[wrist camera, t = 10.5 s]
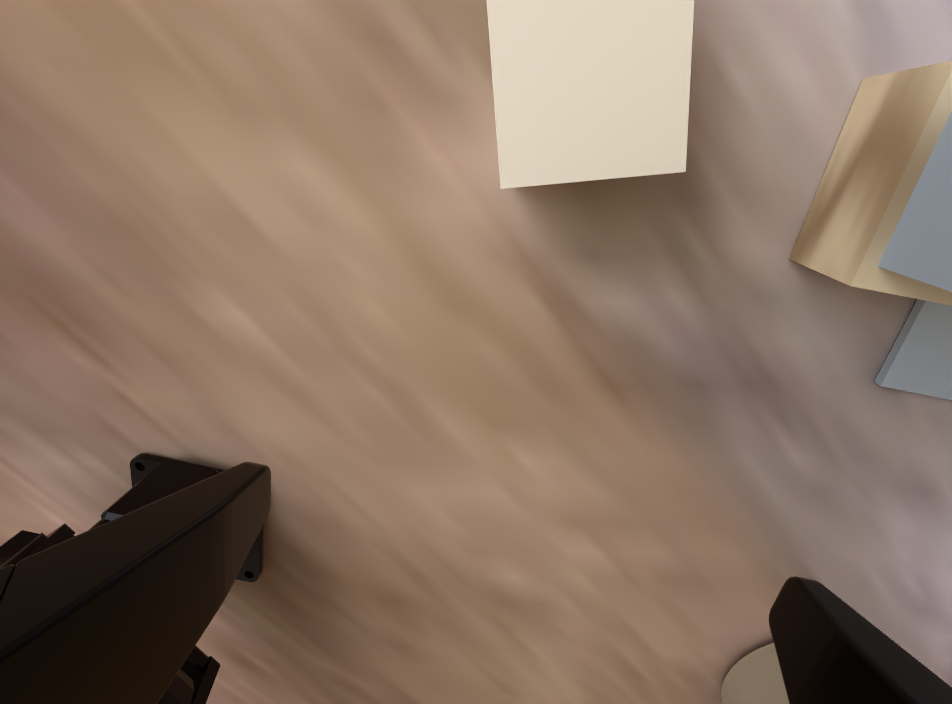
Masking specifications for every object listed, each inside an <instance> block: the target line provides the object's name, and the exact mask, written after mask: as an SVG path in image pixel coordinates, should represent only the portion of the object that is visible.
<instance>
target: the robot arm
mask: <svg viewBox="0 0 952 704" xmlns="http://www.w3.org/2000/svg"><path fill="white" fill-rule="evenodd" d="M130 469H131V479H132V488H131V489H130V490H129V491H128V492H127V493H125V494H124V495H123V496H122V497H121V498H120V499H118V500H117V501H116V502H115V503H114V504H113V505H111V506H110V507H109V508H108V509H107V510H105V511H104V512H103V513H102V515H101V520H100V521H99V522H98V523H96V524H95V525H94V526H93V527H92V528H91V529H90V530H88V531H86V532H84V533H82V534H80V535H77V536H74V534H75V532H74V531H73V530H72V529H71V528H70V527H68V526H67V525H66V524H63V525H62V526H60V527H59V528H58V529H56V530H55V531H53V532H52V533H50V534H49V535H47V536H45V535H44V534H43V533H41V534H37V533H33V532H28V531H23V530H22V531H21V532H19V533H18V534H16V535H15V536H14V537H12V538H11V539H10V540H8V541H7V542H6V543H4V544H3V545H2V546H0V704H206V701H207V699H208V696H209V693H210V691H211V688H212V686H213V683H214V680H215V678H216V675H217V673H218V670H219V667H220V664H219V663H218V662H217V661H216V660H215V659H214V658H213V657H212V656H210V657H208V656H207V655H205V654H204V653H203V652H202V651H201V650H200V649H199V648H198V647H197V646H196V643H197V642H198V640H199V639H200V637H201V636H202V634H203V632H204V631H205V629H206V628H207V626H208V625H209V623H210V622H211V620H212V619H213V617H214V616H215V614H216V612H217V611H218V609H219V608H220V606H221V604H222V603H223V601H224V599H225V598H226V596H227V594H228V592H229V590H230V588H231V587H232V585H233V583H234V581H235V579H239V580H243V581H248V582H254V581H256V580H257V579H258V578H259V576H260V574H261V572H262V536H263V524H264V522H265V520H266V518H267V515H268V512H269V509H270V495H271V471H270V468H269V467H268V466H266V465H261V464H257V463H252V462H244V463H241V464H239V465H237V466H235V467H232V468H230V469H228V470H220V469H216V468H211V467H206V466H201V465H197V464H192V463H187V462H182V461H178V460H173V459H168V458H163V457H159V456H154V455H149V454H142V453H141V454H138V455H137V456H136V457H134V458H133V459H132V460H131V461H130ZM769 625H770V630H771V634H772V638H773V642H774V645H775V649H776V653H777V657H778V661H779V665H780V669H781V673H782V677H783V681H784V685H785V689H786V693H787V697H788V701H789V704H952V687H950V686H949V685H948V684H947V683H945V682H944V681H943V680H942V679H940V678H939V677H938V676H937V675H935V674H934V673H933V672H932V671H930V670H929V669H928V668H927V667H925V666H924V665H923V664H922V663H920V662H919V661H918V660H916V659H915V658H914V657H913V656H911V655H910V654H909V653H908V652H906V651H905V650H904V649H903V648H901V647H900V646H899V645H898V644H896V643H895V642H894V641H893V640H891V639H890V638H889V637H888V636H886V635H885V634H884V633H883V632H881V631H880V630H879V629H877V628H876V627H875V626H874V625H872V624H871V623H870V622H869V621H867V620H866V619H865V618H864V617H862V616H861V615H860V614H859V613H857V612H856V611H855V610H854V609H852V608H851V607H850V606H849V605H847V604H846V603H845V602H844V601H842V600H841V599H840V598H838V597H837V596H836V595H835V594H833V593H832V592H831V591H830V590H828V589H827V588H826V587H825V586H823V585H822V584H821V583H819V582H817V581H815V580H810V579H806V578H801V577H796V576H794V577H790V578H789V579H787V580H786V582H785V584H784V585H783V587H782V589H781V591H780V593H779V595H778V597H777V598H776V600H775V602H774V604H773V606H772V608H771V610H770V614H769Z"/></svg>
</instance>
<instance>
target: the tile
mask: <svg viewBox="0 0 952 704" xmlns="http://www.w3.org/2000/svg"><path fill="white" fill-rule="evenodd" d="M874 382H875V383H877V384H878V385H880V386H882V387H887V388H892V389H897V390H902V391H907V392H912V393H917V394H923V395H928V396H933V397H938V398H943V399H948V400H952V306H951V305H946V304H940V303H935V302H930V301H925V300H920V299H917V301H916V303H915V305H914V307H913V309H912V311H911V313H910V315H909V316H908V318H907V320H906V322H905V324H904V326H903V328H902V330H901V332H900V334H899V335H898V337H897V339H896V341H895V343H894V345H893V347H892V349H891V351H890V353H889V355H888V356H887V358H886V360H885V362H884V364H883V366H882V368H881V370H880V372H879V374H878V376H877V377H876V379H875V381H874Z"/></svg>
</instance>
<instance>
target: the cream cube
mask: <svg viewBox="0 0 952 704" xmlns="http://www.w3.org/2000/svg"><path fill="white" fill-rule="evenodd" d="M487 11H488V25H489V38H490V52H491V65H492V78H493V92H494V105H495V119H496V132H497V146H498V159H499V173H500V186H501V189H505V188H516V187H527V186H538V185H548V184H559V183H570V182H581V181H592V180H603V179H614V178H625V177H635V176H646V175H657V174H668V173H679V172H686V156H687V135H688V115H689V95H690V74H691V54H692V34H693V13H694V0H487Z"/></svg>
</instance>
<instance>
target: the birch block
mask: <svg viewBox="0 0 952 704" xmlns="http://www.w3.org/2000/svg"><path fill="white" fill-rule="evenodd" d="M951 112H952V61H948V62H943V63H939V64H934V65H929V66H924V67H919V68H914V69H909V70H904V71H899V72H894V73H890V74H885V75H880V76H875V77H870V78H865V79H863V80H862V83H861V85H860V88H859V90H858V92H857V95H856V97H855V100H854V102H853V105H852V107H851V109H850V112H849V114H848V117H847V119H846V122H845V124H844V126H843V129H842V131H841V134H840V136H839V139H838V141H837V143H836V146H835V148H834V151H833V153H832V156H831V158H830V160H829V163H828V165H827V168H826V170H825V173H824V175H823V177H822V180H821V182H820V185H819V187H818V190H817V192H816V194H815V197H814V199H813V202H812V204H811V207H810V209H809V212H808V214H807V216H806V219H805V221H804V224H803V226H802V229H801V231H800V233H799V236H798V238H797V241H796V243H795V246H794V248H793V250H792V253H791V255H790V258H789V259H790V260H792V261H794V262H797V263H799V264H801V265H804V266H806V267H808V268H810V269H813V270H815V271H817V272H819V273H822V274H824V275H826V276H829V277H831V278H833V279H835V280H838V281H840V282H842V283H844V284H847V285H849V286H852V287H857V288H863V289H868V290H873V291H878V292H883V293H889V294H894V295H899V296H904V297H909V298H915V299H920V300H925V301H930V302H935V303H940V304H946V305H951V306H952V292H950V291H948V290H945V289H942V288H939V287H936V286H933V285H930V284H927V283H925V282H922V281H919V280H916V279H913V278H910V277H907V276H904V275H901V274H899V273H896V272H893V271H890V270H887V269H884V268H881V267H878V264H879V262H880V260H881V258H882V255H883V253H884V251H885V249H886V247H887V245H888V243H889V241H890V239H891V237H892V235H893V233H894V230H895V228H896V226H897V224H898V222H899V220H900V218H901V216H902V214H903V212H904V210H905V208H906V205H907V203H908V201H909V199H910V197H911V195H912V193H913V191H914V189H915V187H916V185H917V182H918V180H919V178H920V176H921V174H922V172H923V170H924V168H925V166H926V164H927V162H928V160H929V157H930V155H931V153H932V151H933V149H934V147H935V145H936V143H937V141H938V139H939V137H940V135H941V132H942V130H943V128H944V126H945V124H946V122H947V120H948V118H949V116H950V114H951Z"/></svg>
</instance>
